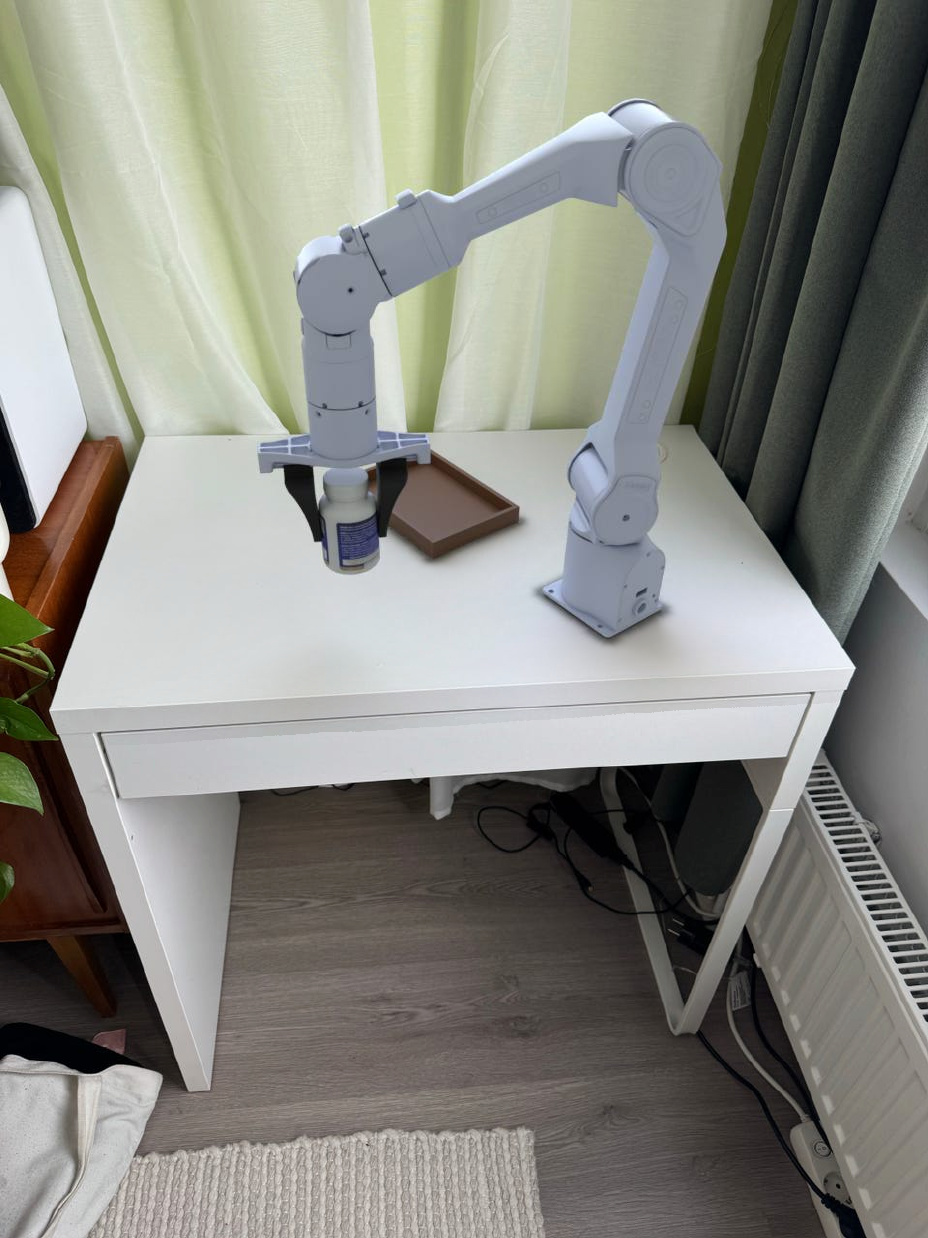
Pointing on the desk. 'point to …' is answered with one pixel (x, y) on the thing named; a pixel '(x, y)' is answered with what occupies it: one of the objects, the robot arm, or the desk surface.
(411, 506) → the tray
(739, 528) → the desk surface
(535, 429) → the desk surface
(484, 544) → the desk surface
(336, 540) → the pill bottle
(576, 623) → the desk surface
